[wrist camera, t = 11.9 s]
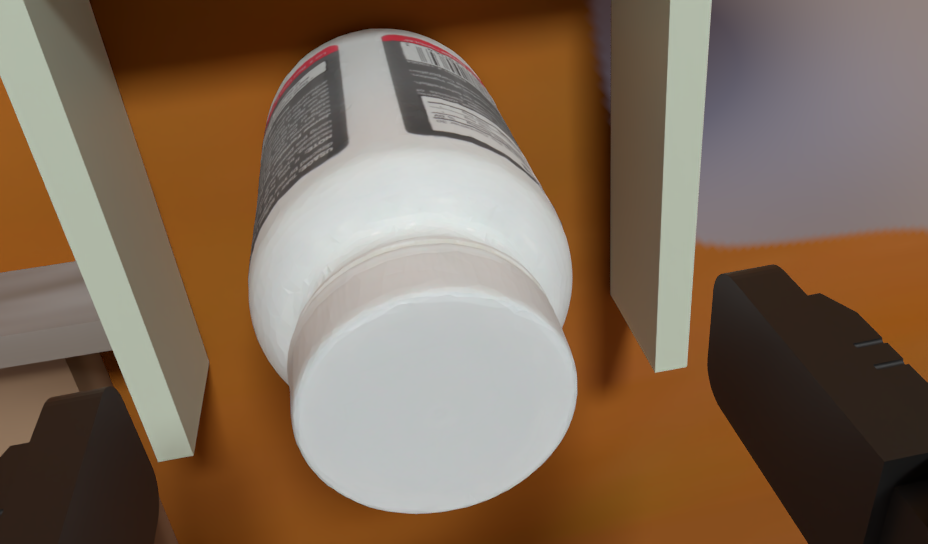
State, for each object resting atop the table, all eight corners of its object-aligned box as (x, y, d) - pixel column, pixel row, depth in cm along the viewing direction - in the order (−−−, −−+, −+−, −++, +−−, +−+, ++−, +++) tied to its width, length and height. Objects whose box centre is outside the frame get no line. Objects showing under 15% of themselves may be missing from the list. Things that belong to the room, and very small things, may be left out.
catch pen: (3, -122, 15) (-70, -96, 12) (650, -198, 16) (724, -190, 14) (178, 367, 22) (158, 462, 19) (638, 289, 23) (686, 366, 20)
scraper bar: (-121, 288, 19) (-184, 366, 17) (137, 248, 20) (113, 318, 17) (67, 619, 26) (41, 710, 24) (255, 583, 27) (250, 668, 24)
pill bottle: (313, 264, 21) (317, 590, 13) (226, 65, 18) (155, 320, 10) (517, 200, 21) (654, 484, 12) (463, -10, 18) (595, 181, 10)
